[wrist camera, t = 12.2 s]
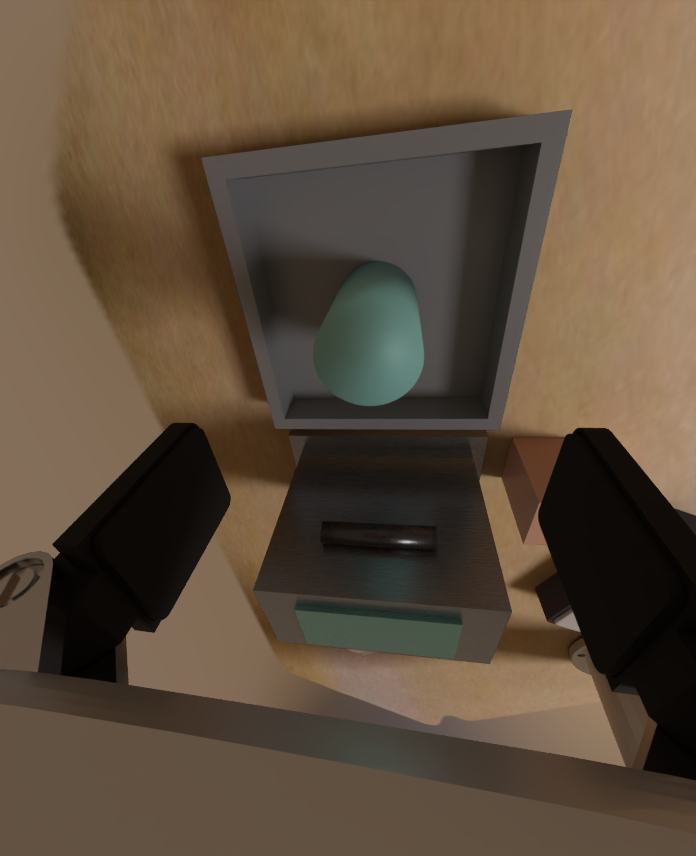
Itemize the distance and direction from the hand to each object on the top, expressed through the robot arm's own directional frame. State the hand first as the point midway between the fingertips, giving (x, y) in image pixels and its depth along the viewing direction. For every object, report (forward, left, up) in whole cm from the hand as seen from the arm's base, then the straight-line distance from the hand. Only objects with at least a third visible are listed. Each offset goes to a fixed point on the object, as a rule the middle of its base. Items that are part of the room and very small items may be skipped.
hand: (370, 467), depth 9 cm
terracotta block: (-11, +11, -13) cm, 21 cm away
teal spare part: (+1, -1, -13) cm, 13 cm away
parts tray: (0, -1, -13) cm, 13 cm away
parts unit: (0, +12, -13) cm, 18 cm away
